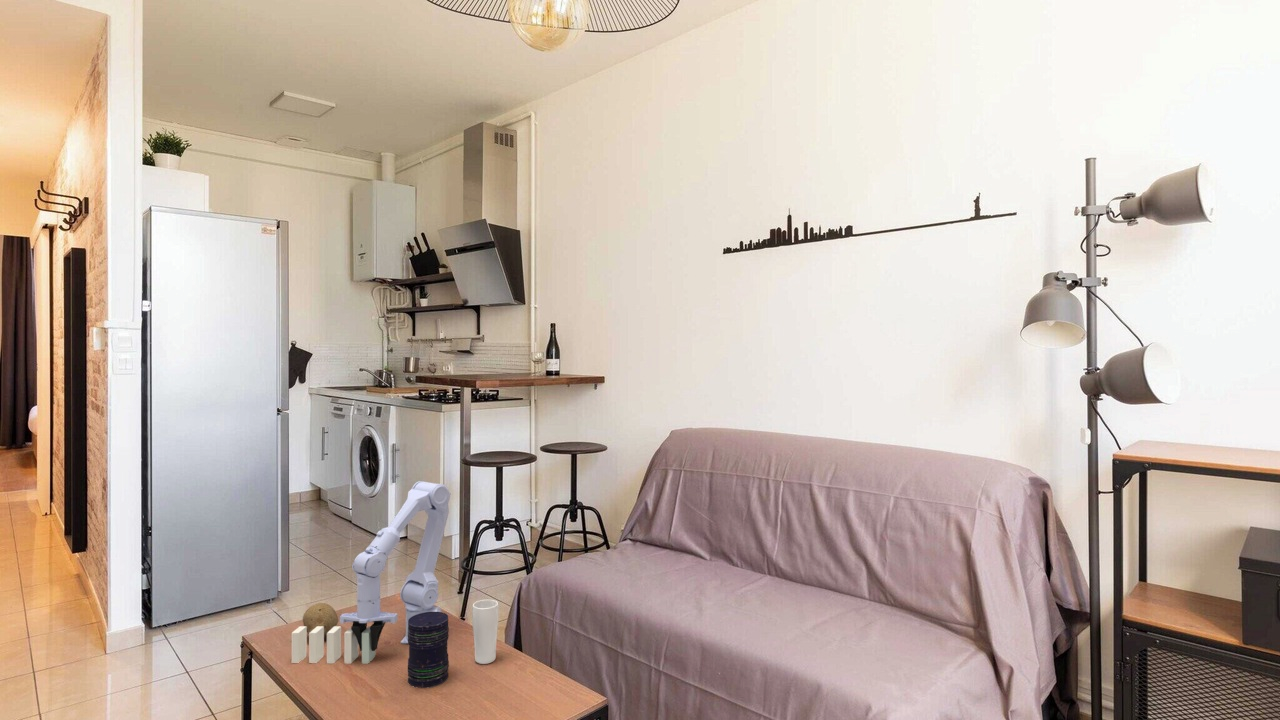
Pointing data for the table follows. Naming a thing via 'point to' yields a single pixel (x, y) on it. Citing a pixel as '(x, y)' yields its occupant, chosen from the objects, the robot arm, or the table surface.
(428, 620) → the dark blue cylinder
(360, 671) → the table surface
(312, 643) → the domino
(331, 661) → the domino
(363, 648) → the domino
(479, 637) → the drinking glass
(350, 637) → the domino
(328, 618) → the natural sponge
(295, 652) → the domino
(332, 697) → the table surface
